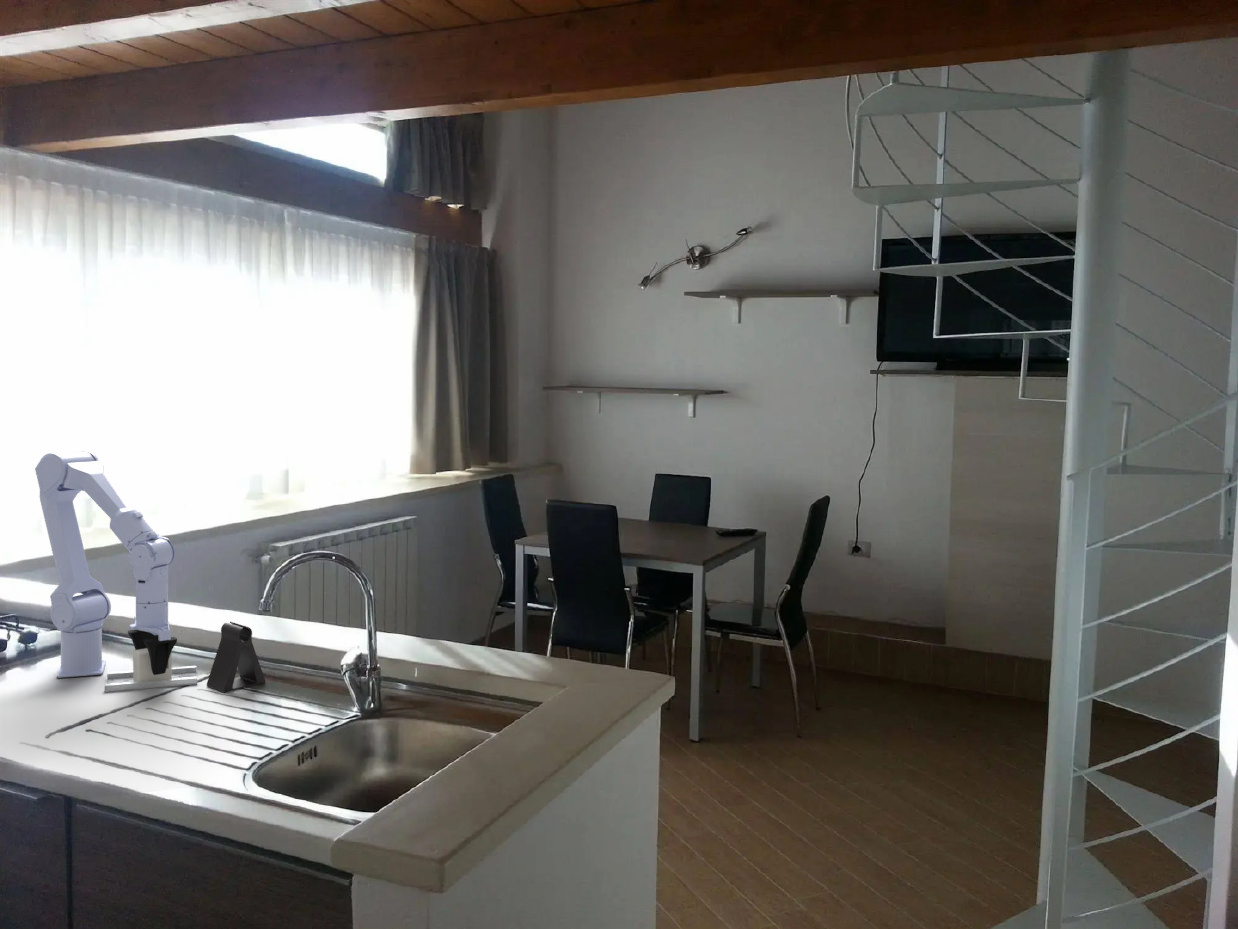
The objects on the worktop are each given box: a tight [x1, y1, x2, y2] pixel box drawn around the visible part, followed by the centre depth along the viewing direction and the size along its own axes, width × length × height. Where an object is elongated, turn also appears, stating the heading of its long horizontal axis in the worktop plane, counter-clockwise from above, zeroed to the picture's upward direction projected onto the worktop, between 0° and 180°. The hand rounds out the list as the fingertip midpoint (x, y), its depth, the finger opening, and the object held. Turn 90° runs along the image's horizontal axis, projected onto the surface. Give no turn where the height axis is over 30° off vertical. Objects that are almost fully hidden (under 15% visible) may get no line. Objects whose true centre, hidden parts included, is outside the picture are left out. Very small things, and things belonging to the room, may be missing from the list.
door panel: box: [132, 648, 173, 681], centre depth 191 cm, size 3×6×6 cm, turn 135°
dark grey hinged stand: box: [206, 621, 266, 694], centre depth 191 cm, size 9×6×12 cm, turn 143°
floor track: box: [104, 665, 198, 693], centre depth 191 cm, size 9×16×1 cm, turn 114°
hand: (152, 669), depth 191 cm, fingers open, 7 cm apart
